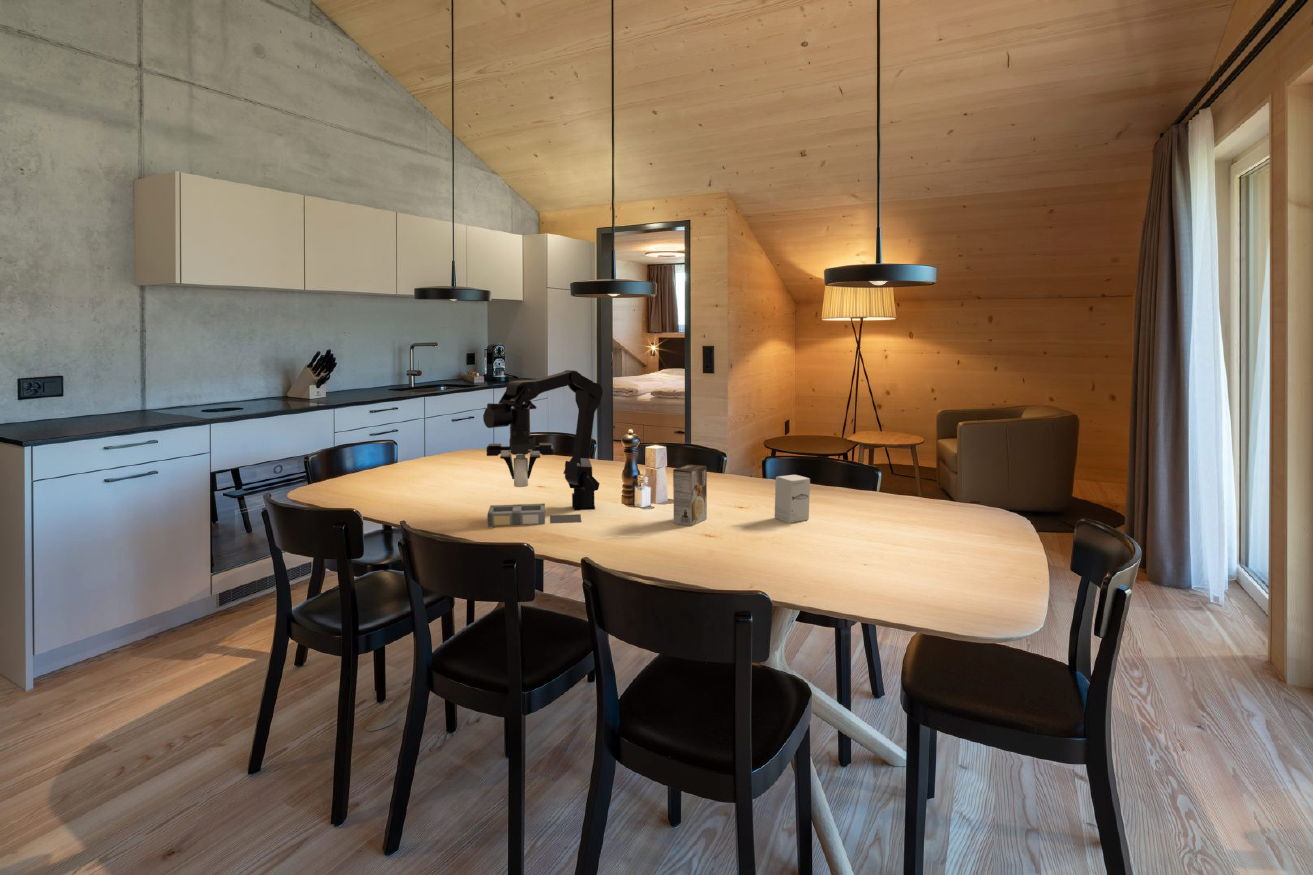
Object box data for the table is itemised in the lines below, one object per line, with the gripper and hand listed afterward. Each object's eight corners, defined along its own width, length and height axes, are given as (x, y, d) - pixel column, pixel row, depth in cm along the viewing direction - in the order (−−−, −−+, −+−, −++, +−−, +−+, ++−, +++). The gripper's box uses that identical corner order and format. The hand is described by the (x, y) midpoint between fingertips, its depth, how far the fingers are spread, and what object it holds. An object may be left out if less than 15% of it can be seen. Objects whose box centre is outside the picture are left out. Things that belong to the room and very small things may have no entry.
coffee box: (688, 516, 221) (688, 463, 218) (707, 519, 217) (707, 465, 215) (672, 523, 213) (672, 468, 210) (692, 526, 209) (692, 471, 207)
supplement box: (789, 523, 212) (790, 480, 210) (773, 517, 219) (774, 476, 217) (809, 520, 215) (810, 478, 214) (793, 514, 222) (794, 473, 220)
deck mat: (580, 515, 222) (580, 514, 222) (581, 523, 213) (581, 522, 213) (550, 516, 221) (550, 515, 221) (550, 524, 212) (550, 523, 212)
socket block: (545, 516, 221) (544, 503, 221) (544, 525, 211) (544, 512, 210) (490, 518, 219) (490, 505, 218) (487, 527, 209) (487, 514, 208)
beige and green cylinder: (528, 484, 215) (527, 453, 214) (528, 486, 212) (527, 456, 210) (514, 484, 215) (513, 454, 214) (513, 487, 211) (513, 456, 210)
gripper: (484, 429, 202) (485, 485, 204) (553, 428, 204) (553, 483, 207) (487, 424, 212) (488, 477, 215) (552, 423, 215) (553, 476, 217)
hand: (520, 478), depth 213 cm, fingers closed on beige and green cylinder, 4 cm apart
